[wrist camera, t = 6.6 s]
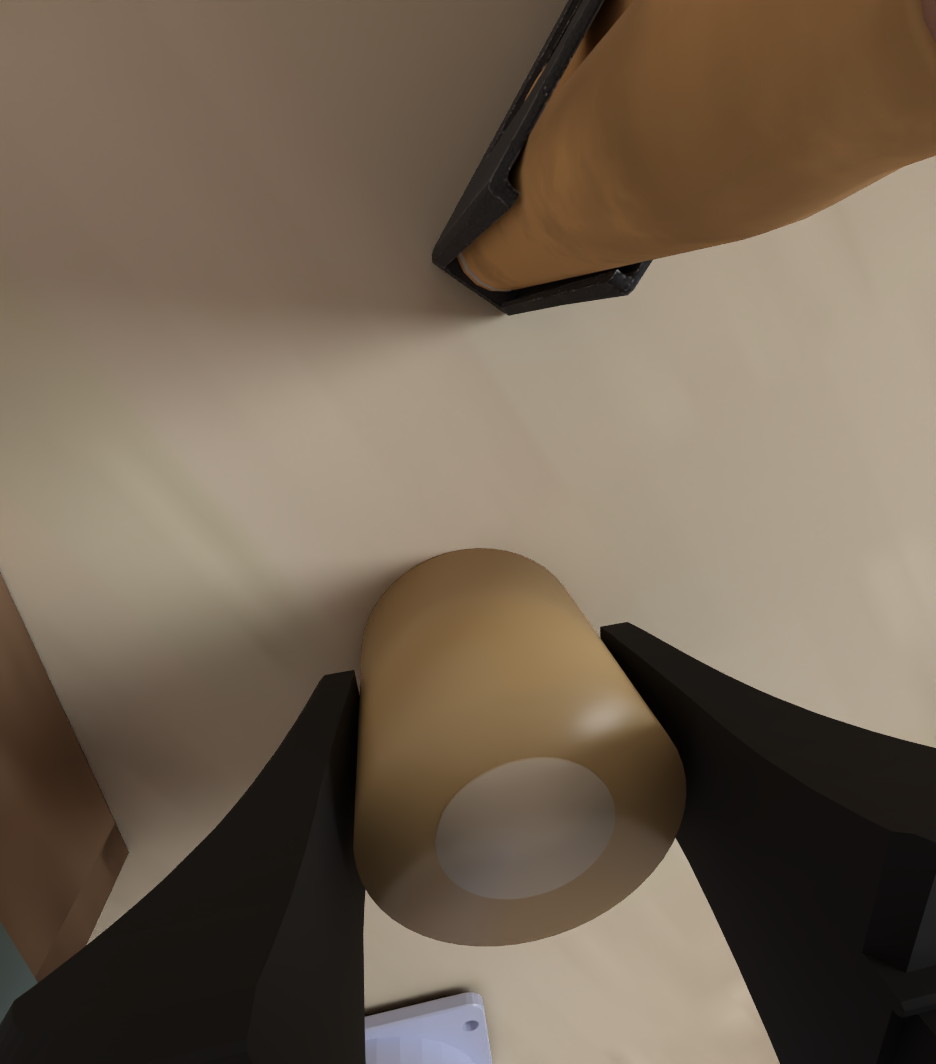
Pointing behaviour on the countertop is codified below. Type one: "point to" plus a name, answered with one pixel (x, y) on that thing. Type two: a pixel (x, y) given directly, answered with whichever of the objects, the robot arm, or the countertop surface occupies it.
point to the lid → (12, 973)
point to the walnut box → (47, 813)
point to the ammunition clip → (686, 137)
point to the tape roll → (502, 757)
